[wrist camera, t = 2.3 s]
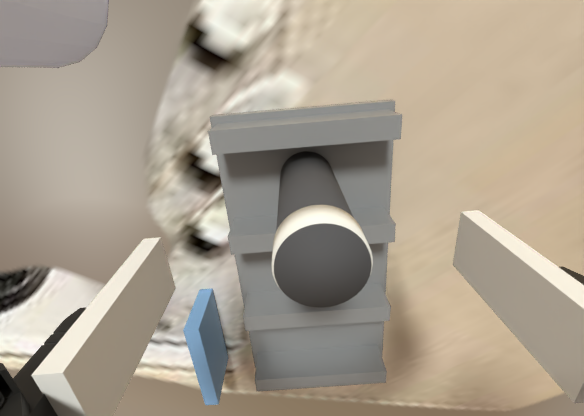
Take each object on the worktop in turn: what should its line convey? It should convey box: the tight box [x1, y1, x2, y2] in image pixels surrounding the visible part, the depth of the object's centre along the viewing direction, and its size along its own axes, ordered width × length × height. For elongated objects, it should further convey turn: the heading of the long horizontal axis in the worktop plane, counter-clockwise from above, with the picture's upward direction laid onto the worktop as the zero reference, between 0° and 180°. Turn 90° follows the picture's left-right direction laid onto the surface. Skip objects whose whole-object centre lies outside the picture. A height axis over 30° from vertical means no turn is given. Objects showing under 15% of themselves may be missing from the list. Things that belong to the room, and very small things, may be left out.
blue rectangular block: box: [183, 289, 228, 405], centre depth 29 cm, size 1×9×5 cm, turn 5°
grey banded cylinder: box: [272, 151, 373, 308], centre depth 18 cm, size 4×4×12 cm
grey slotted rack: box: [208, 100, 402, 391], centre depth 26 cm, size 13×25×4 cm, turn 5°
